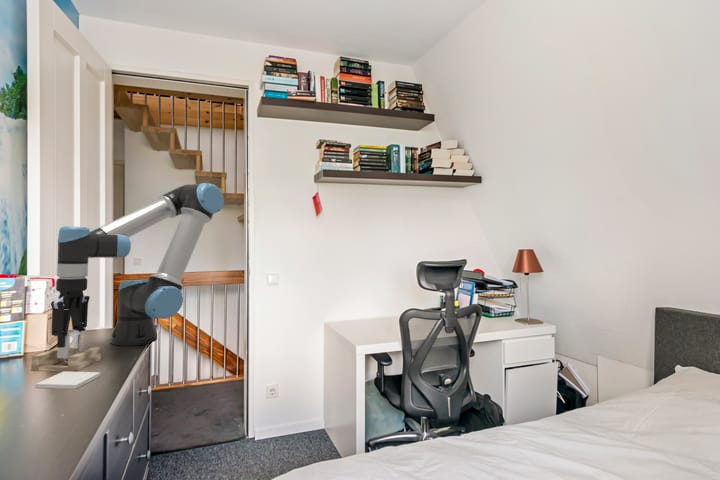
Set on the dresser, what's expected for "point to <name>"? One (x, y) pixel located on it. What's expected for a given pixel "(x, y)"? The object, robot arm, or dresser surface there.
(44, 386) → the pad
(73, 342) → the milkshake
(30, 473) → the dresser surface
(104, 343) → the dresser surface
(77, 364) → the pocket holder
